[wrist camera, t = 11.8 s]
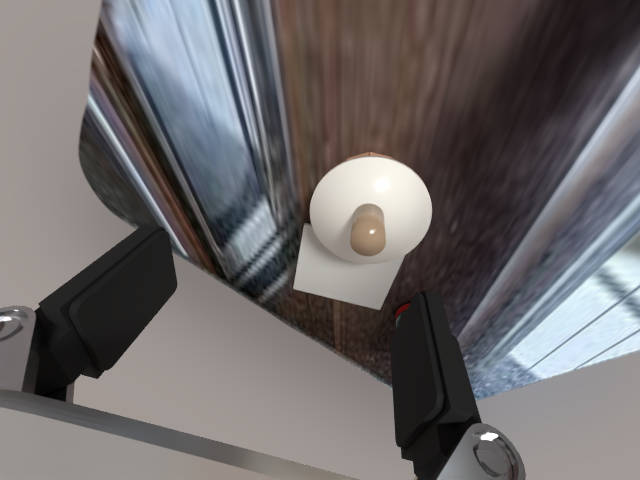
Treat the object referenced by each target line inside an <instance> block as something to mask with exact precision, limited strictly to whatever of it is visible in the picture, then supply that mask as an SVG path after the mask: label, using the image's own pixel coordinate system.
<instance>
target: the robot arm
mask: <svg viewBox="0 0 640 480" xmlns="http://www.w3.org/2000/svg"><path fill="white" fill-rule="evenodd" d="M176 288H177V279H176V273H175V268H174V261H173V256H172V249H171V243H170V238H169V234H168V232H166V231H165V229H164V228H163V227H160V226H156V225H152V224H144V225H142V226H141V227H140V228H138V229H137V230H136V231H134V232H133V233H132V234H131V235H129V236H128V237H126V238H125V239H124V240H122V241H121V242H120V243H118V244H117V245H116V246H115V247H113V248H112V249H110V250H109V251H108V252H106V253H105V254H104V255H102V256H101V257H100V258H98V259H97V260H96V261H94V262H93V263H92V264H90V265H89V266H88V267H86V268H85V269H84V270H82V271H81V272H80V273H78V274H77V275H76V276H75V277H73V278H72V279H71V280H69V281H68V282H67V283H65V284H64V285H63V286H61V287H60V288H58V289H57V290H56V291H54V292H53V293H52V294H50V295H49V296H48V297H46V298H45V299H44V300H42V301H41V302H40V303H39V305H40V307H39V308H38V309H37V310H35V311H33V310H32V309H31V308H28V307H26V306H11V307H4V308H1V309H0V480H358V479H355V478H351V477H348V476H344V475H341V474H337V473H333V472H330V471H326V470H322V469H318V468H315V467H311V466H308V465H304V464H300V463H296V462H293V461H289V460H285V459H282V458H278V457H274V456H270V455H267V454H263V453H259V452H255V451H252V450H248V449H244V448H240V447H237V446H233V445H229V444H225V443H222V442H218V441H214V440H210V439H207V438H203V437H199V436H195V435H191V434H188V433H184V432H180V431H176V430H172V429H168V428H165V427H161V426H157V425H153V424H150V423H146V422H142V421H138V420H134V419H130V418H126V417H122V416H119V415H115V414H111V413H107V412H103V411H100V410H96V409H91V408H88V407H84V406H80V405H76V404H73V396H74V381H75V380H76V379H77V378H78V377H79V376H80V374H82V375H85V376H89V377H92V378H96V379H98V378H99V377H100V376H101V374H102V373H103V372H104V371H105V370H109V369H110V368H112V367H113V365H114V364H115V363H116V362H117V361H118V360H119V358H120V357H121V356H122V355H123V354H124V352H125V351H126V350H127V349H128V348H129V346H130V345H131V344H132V343H133V342H134V340H135V339H136V338H137V337H138V335H139V334H140V333H141V332H142V330H143V329H144V328H145V327H146V326H147V325H148V323H149V322H150V321H151V320H152V319H153V317H154V316H155V315H156V314H157V313H158V311H159V310H160V309H161V308H162V306H163V305H164V304H165V303H166V302H167V301H168V299H169V298H170V297H171V296H172V294H173V293H174V292H175V290H176ZM390 350H391V368H392V385H393V402H394V419H395V438H396V444H397V446H398V447H401V454H402V458H403V459H406V460H410V461H413V464H414V473H415V475H416V477H415V478H414V480H525V476H526V474H525V469H524V464H523V462H522V459H521V457H520V455H519V453H518V452H517V450H516V448H515V447H514V445H513V444H512V443H511V442H510V441H509V439H508V438H507V437H506V436H505V435H503V434H502V433H501V432H500V431H499V430H497V429H496V428H494V427H492V426H490V425H488V424H483V423H482V422H481V419H480V415H479V412H478V408H477V405H476V402H475V398H474V395H473V391H472V388H471V384H470V381H469V378H468V374H467V371H466V367H465V364H464V360H463V357H462V354H461V350H460V347H459V343H458V341H457V339H456V337H455V336H453V335H451V332H450V328H449V325H448V321H447V317H446V314H445V310H444V306H443V303H442V299H441V296H440V295H439V294H436V293H432V292H428V291H421V293H420V294H419V293H416V294H415V295H414V297H413V299H412V301H411V302H410V304H409V306H408V308H407V310H406V312H405V314H404V315H403V317H402V319H401V321H400V323H399V325H398V326H397V328H396V330H395V332H394V334H393V336H392V338H391V343H390Z"/></svg>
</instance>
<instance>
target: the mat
mask: <svg viewBox="0 0 640 480" xmlns="http://www.w3.org/2000/svg"><path fill="white" fill-rule="evenodd" d="M404 257H405V255H404V256H402V257H400V258H398V259H395V260H392V261H389V262H385V263H380V264H360V263H355V262H351V261H348V260H345V259H343V258H340V257H339V256H337V255H335V254H334V253H332V252H331V251H329V250H328V249H327V248H326V247H325V246H324V245H323V244H322V243H321V242H320V240H319V239H318V237H317V236H316V234H315V232H314V230H313V227H312V224H308V223H304V228H303V234H302V240H301V246H300V252H299V257H298V263H297V269H296V275H295V281H294V287H293V289H296V290H300V291H304V292H308V293H312V294H316V295H320V296H324V297H328V298H332V299H336V300H340V301H344V302H349V303H353V304H357V305H361V306H365V307H369V308H373V309H377V310H380V309H381V307H382V305H383V302H384V300H385V298H386V296H387V294H388V292H389V289H390V287H391V285H392V283H393V281H394V278H395V276H396V274H397V272H398V270H399V268H400V265H401V263H402V261H403V259H404Z"/></svg>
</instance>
